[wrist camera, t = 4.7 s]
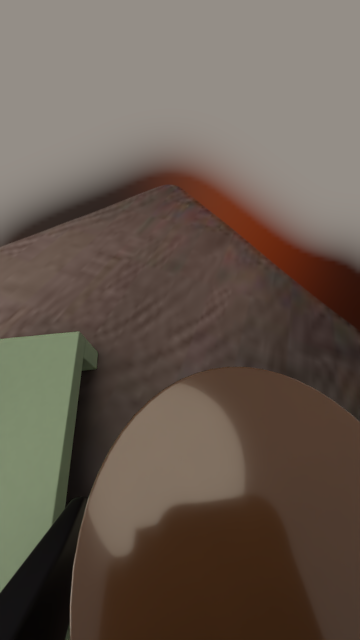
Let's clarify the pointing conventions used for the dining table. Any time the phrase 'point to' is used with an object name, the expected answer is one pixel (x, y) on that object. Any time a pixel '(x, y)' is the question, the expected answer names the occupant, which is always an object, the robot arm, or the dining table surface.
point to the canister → (224, 517)
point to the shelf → (36, 437)
